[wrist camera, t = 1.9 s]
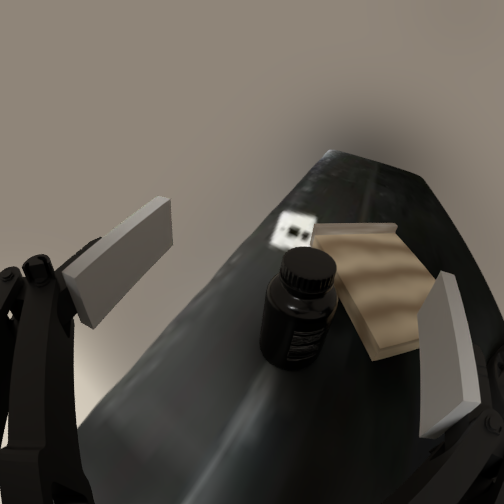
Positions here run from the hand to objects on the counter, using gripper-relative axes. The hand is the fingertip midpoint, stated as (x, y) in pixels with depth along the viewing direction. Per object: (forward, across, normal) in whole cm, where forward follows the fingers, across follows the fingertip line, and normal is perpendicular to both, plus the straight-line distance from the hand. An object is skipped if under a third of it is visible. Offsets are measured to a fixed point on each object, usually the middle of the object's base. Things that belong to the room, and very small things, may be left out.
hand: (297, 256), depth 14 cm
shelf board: (+25, +12, -19) cm, 33 cm away
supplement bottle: (+10, 0, -20) cm, 22 cm away
